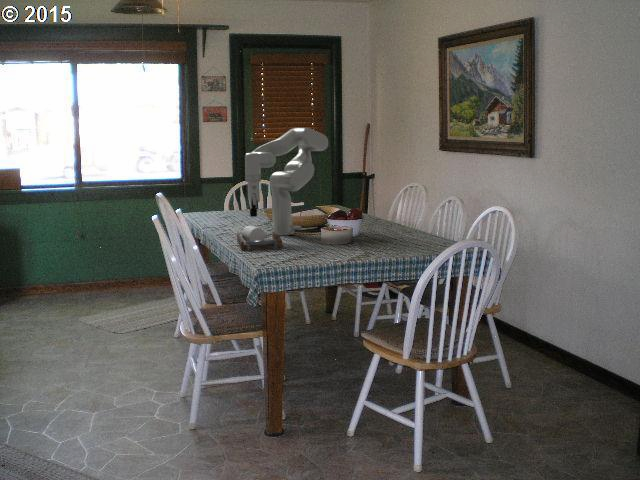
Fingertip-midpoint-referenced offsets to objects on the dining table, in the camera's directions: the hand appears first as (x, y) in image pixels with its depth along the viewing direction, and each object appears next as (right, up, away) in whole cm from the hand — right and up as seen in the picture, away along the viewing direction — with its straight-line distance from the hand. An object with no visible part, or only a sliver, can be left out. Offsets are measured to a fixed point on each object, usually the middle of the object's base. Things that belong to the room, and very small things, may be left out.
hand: (253, 216), depth 375 cm
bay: (+4, -14, -16) cm, 22 cm away
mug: (+3, -13, -9) cm, 16 cm away
